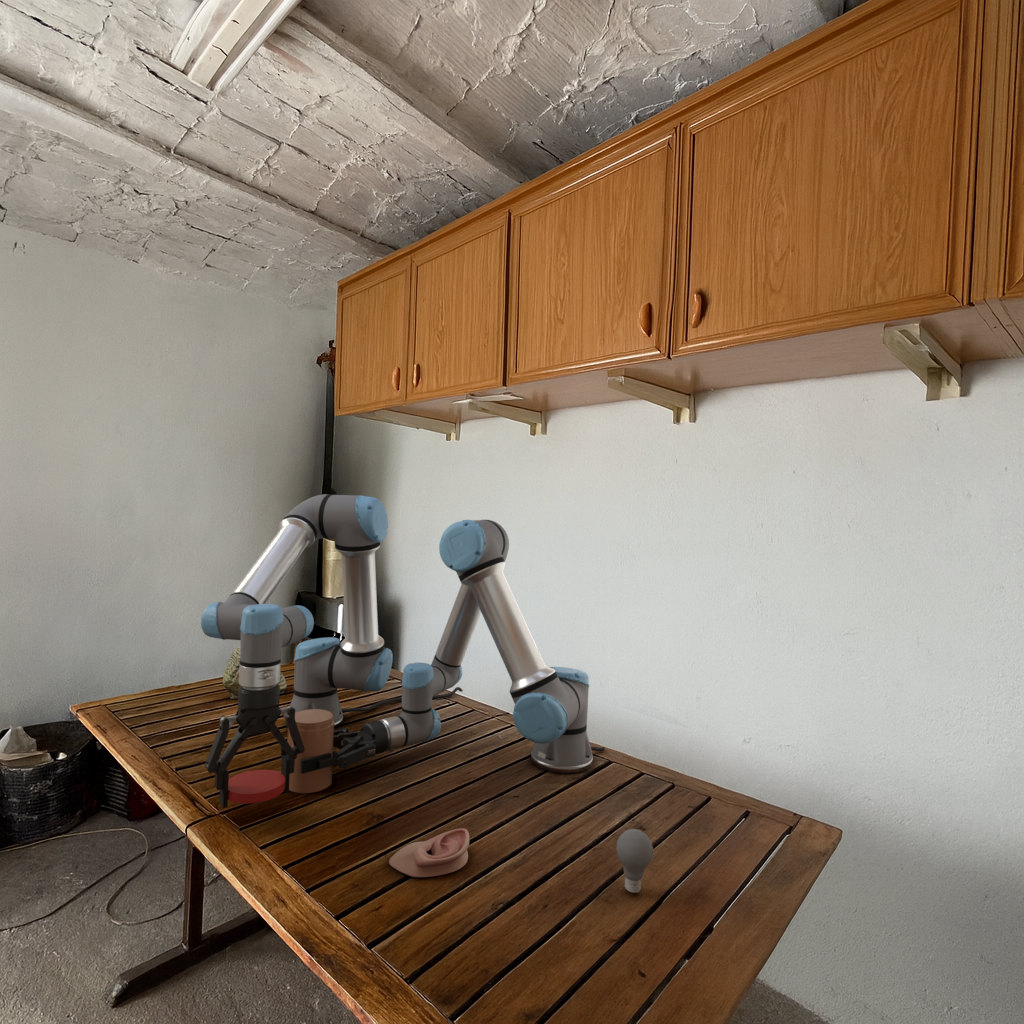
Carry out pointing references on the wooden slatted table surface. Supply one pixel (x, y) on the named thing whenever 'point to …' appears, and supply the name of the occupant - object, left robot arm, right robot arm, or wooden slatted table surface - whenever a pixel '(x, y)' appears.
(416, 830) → the wooden slatted table surface
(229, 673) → the fossil
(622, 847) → the light bulb
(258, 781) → the lid
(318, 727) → the jar
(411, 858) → the anatomical model
